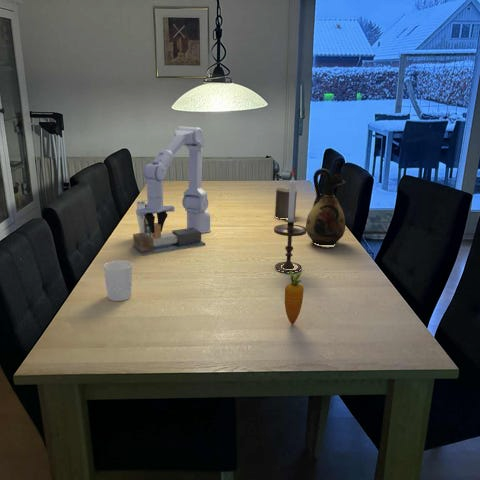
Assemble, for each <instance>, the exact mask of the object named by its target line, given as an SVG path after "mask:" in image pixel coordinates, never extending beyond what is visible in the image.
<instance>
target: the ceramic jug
mask: <svg viewBox="0 0 480 480" xmlns="http://www.w3.org/2000/svg"><path fill="white" fill-rule="evenodd" d="M321 175H326V178H324V179H323V180H322V181H321V186H323V187H324V190H323V192H321V190H320V186H319V176H321ZM313 184H314V185H313V186H314V190H315V199H314V203H313V205H312V207H311V209H310V210H309V212H308V215H307V217H306V221H305V228H306V229H307V231H306V234H307V236H308V237H309V238H310V240H311V243H312V242H313V243H316V244H319V245H334V244H336V245H337V242H339V241H340V239H342V237H343V236H344V234H345V233H346V218H345V213H344V211H343V209H342V206H341V205H340V203H339V201H338V199H337V198H336V196H335V193H334V188H336V187H337V186H341V185H343V184H346V180H344V178H343V177H342V175H341V174H340V173H337V174H334V175H332V173H331V172H330V170H329V169H326V168H325V167H324V168H323V167H322V168H319V169H317V170H316V171H315V172H314V175H313ZM321 193H322V194H321Z"/></svg>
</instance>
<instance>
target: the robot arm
mask: <svg viewBox="0 0 480 480" xmlns="http://www.w3.org/2000/svg"><path fill="white" fill-rule="evenodd" d="M204 134H205V133H204V131H203V130H202V129H201V127H198V126H197V127H193V126H191V127H190V126H184V125H183V126H182V125H179V126H177V127H176V129H175V130H174V132H173V135H174V136H173V139H172V140H171V141H170V143H169V144H168V146H167V147H166V149H162V150H160V151H159V153H158V154H157V155H156V156H155V158H154V159H153V160H152V162H151V163H147V164H146V165H145V166H144V168H143V171H142V175H143V178H144V180H145V181H144V182H145V184H146V197H147V199H146V201H147V202H148V207H147V208H143V209H138V210H137V209H136V210H135V215H136V216H137V215H138V216H141V215H144V216H145V218H146V219H147V222H148V224H149V227H150V231H151V232H152V233H154V223H155V219H156V218H157V223H159V224H161V233H162V232H163V228H164V224H165V222H166V219H167V217H168V213H170V212H172V213H173V212H174V213H175V206H174V205H164V188H163V187H164V186H163V180H164V179H165V178H166V175H167V171H168V168H169V167H170V165H171V164H172V163H173V162H174V160H175V159H174V155H176V154H177V152H178V151H179V150H181V148H182V147H183V146H185V147H186V148H187V149H188V188H187V189H186V190H185V191H184V192H183V197H182V201H181V202H182V203H181V204H182V207H183V209H184V211H185V212H186V228H185V229H187V228H195V229H196V230H198V231H200V232H201V234H204V233H211V232H212V230H211V215H210V212H209V210H208V208H209V199H208V193H207V191H205V189H203V188H202V182H203V181H202V180H203V179H202V176H203V148H204V143H205V142H204V141H205V140H204V139H205V135H204ZM153 214H154V216H153ZM155 214H156V216H155Z"/></svg>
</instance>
